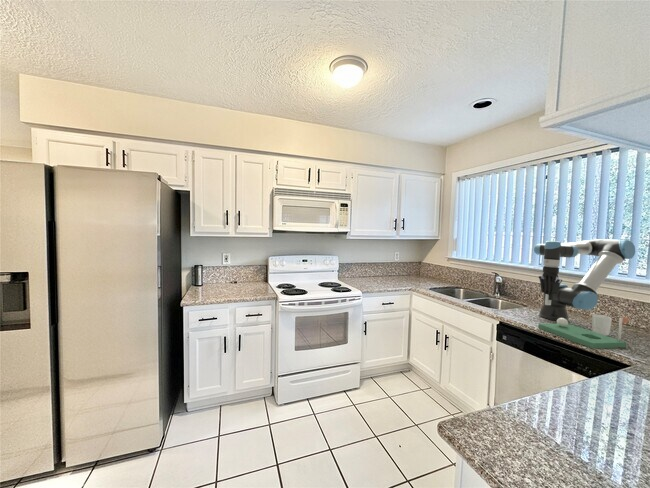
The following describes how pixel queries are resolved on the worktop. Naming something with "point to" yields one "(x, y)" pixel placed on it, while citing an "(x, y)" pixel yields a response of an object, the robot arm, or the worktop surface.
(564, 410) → the worktop surface
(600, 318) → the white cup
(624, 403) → the worktop surface
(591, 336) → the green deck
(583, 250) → the robot arm
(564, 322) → the ball
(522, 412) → the worktop surface
